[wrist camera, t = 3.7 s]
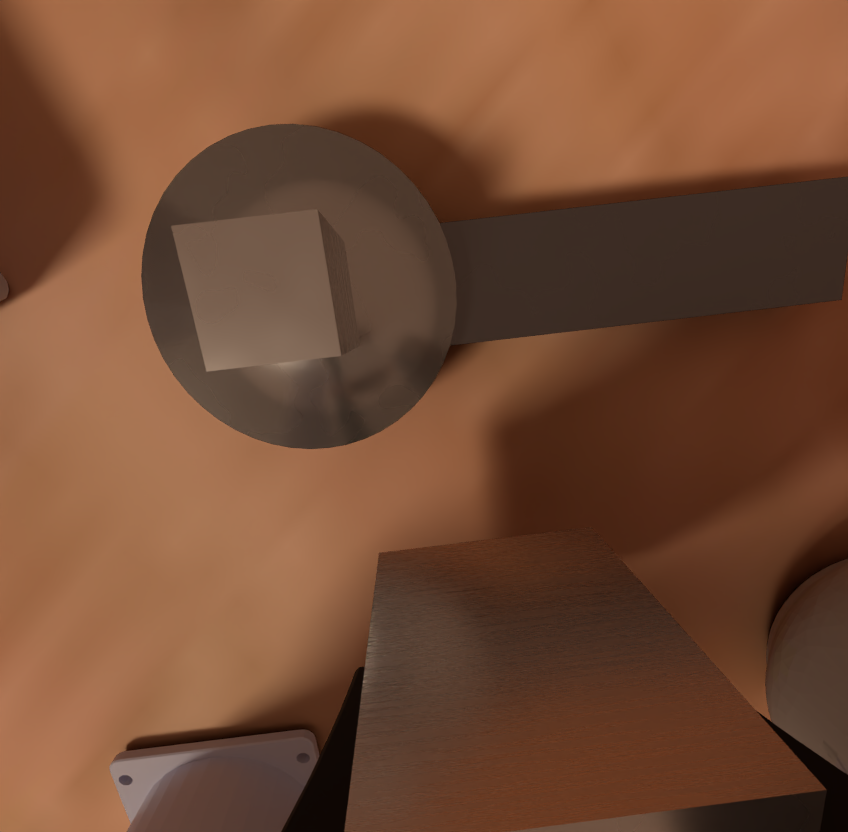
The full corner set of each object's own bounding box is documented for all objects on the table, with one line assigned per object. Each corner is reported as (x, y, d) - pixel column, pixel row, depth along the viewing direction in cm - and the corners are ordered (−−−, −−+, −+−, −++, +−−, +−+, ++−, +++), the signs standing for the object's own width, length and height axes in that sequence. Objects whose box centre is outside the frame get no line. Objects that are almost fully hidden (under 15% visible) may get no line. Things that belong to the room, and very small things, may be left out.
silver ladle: (781, 375, 13) (1005, 408, 8) (222, 441, 13) (107, 515, 8) (809, 103, 12) (1119, -65, 7) (158, 176, 11) (-43, 62, 6)
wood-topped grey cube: (593, 698, 11) (778, 1072, 6) (405, 721, 11) (402, 1125, 6) (591, 527, 10) (826, 790, 4) (378, 553, 10) (340, 853, 4)
